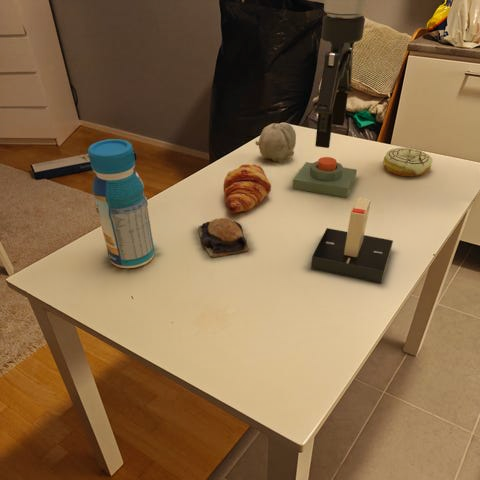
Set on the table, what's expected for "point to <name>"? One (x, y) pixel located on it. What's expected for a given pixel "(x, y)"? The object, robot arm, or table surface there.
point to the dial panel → (362, 267)
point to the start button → (327, 164)
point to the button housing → (325, 180)
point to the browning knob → (357, 227)
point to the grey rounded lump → (277, 142)
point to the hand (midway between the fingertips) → (330, 135)
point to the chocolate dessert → (223, 237)
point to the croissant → (245, 187)
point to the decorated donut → (407, 162)
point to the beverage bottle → (121, 203)
